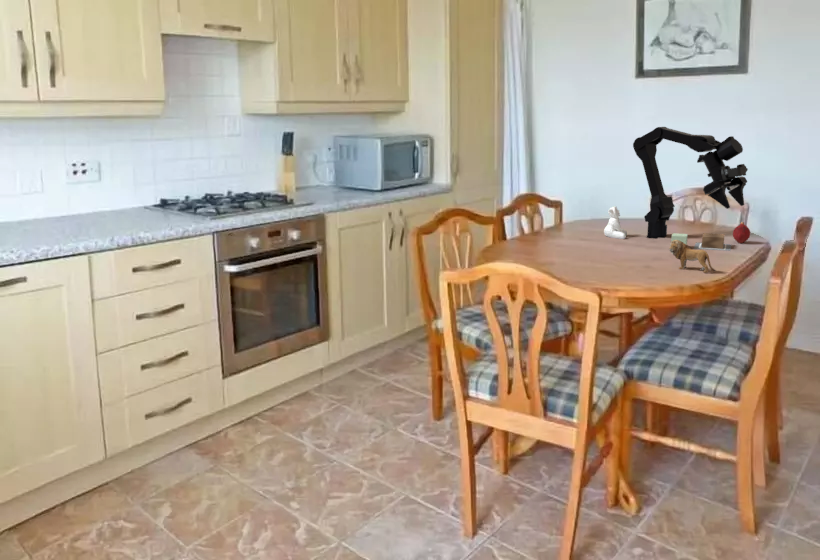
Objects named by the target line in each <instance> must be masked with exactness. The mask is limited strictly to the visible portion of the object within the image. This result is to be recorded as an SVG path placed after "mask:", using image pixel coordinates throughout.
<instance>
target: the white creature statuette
mask: <svg viewBox="0 0 820 560" xmlns="http://www.w3.org/2000/svg"><path fill="white" fill-rule="evenodd" d="M607 211H608V215H609V217H610V218H609V219H608V223H607V225H606V226H605V227H604V229H603V234H604V236H606V237H607V238H612V239H618V240H619V239H620V240H623V239H624V240H625V239H626V237H627V234H628V231H627V230H626V229H624V228H621V222H620V216H621V214H620V210H619V209H618V207H617V206H616V205H615V206H611V207H609V209H608V210H607Z"/></svg>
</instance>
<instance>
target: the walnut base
mask: <svg viewBox="0 0 820 560" xmlns="http://www.w3.org/2000/svg"><path fill="white" fill-rule="evenodd" d="M701 243H702V248H716V249H723V246H724V244H725V233H724V234H723V233H710V232H709V233H708V232H704V233H703V234H702V239H701Z"/></svg>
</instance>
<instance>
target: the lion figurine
mask: <svg viewBox="0 0 820 560" xmlns="http://www.w3.org/2000/svg"><path fill="white" fill-rule="evenodd" d="M668 250H669V253H671V255H673V256H674V257H675V259H677V260H680V261H679V262H680V266H679V267H678V269H679V270H684V268H686V267H687V266H686V265H687V261H690V262H694V261H695V262H696V261H698V263H699V265H701V266H702V267H700V268H699V270H700V271H702V272H703V274H707V273H708V272H709V269H710V270H711V271H712V272H717V270H716V269H715V268H713V267H712V264H711V261H710V256H709V254H708V253H707V251H706V250H705V249H693V248H691V247H690V246H689V245H688V244H687V245H686V244H684V243H683V242H681V241H679V240H673V241H671V240H670V244H669V248H668ZM706 262H707V263H708V265H707V263H706Z"/></svg>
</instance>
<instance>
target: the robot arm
mask: <svg viewBox="0 0 820 560" xmlns="http://www.w3.org/2000/svg"><path fill="white" fill-rule="evenodd" d="M663 140H665V141H666V140H667V141H670V142H672V143H673V142H674V143H678V144H681V145H685V146H687V147H688V148H689V149H691V150H693V151H694V152H697V153H705V154H699V155H698V158H697V163H700V164H701V163H703V164H704V165H705V167H706V169H707V171H708V173H707V177H708V178H711V179H712V181H711V182H710V183H708V184H706V185H704V186H703V192H704V195H707V196H708V197H710V198H712V199H713V200H715V201H716V202H717V203H719V204H720V205H721V206H722V207H724V208H725V209H728V210H729V209H730V208H731V205H730V203H729V200H728V197H727V195H726V190H727V191H728V193H729V195H730V196H731V197H732V198H733V199H734V201H736V202H737V203H738V204H739V205H740V206H741V207H743V206H744V205H745V200H744V188H745V186H746V185H747V184H748V180H747V179H746V177H745V176H747V171H748V170H749V169H748V168H747V166H746V165H745V163H741V164H737V165H736V167H731V166H729V165H726V164H725V162H728V161H730V160H731V159H733V158H734V157H736V156H738V155H740V154H742V153H743V150H744V149H743V148H744V147H743V146H742V143H740V142H739V141H738V139H736V138H735V137H734V136H732V135H731V136H728V137H727V138H726V139H725V140H723V141H721V142H720V140H716V138H715V136H713V135H710V134H709V135H708V134H693V133H692V134H691V133H689V132H688V133H687V132H684V131H680V130H676V129H673V128H669V127H666V126H657V127H656V128H654V129H652V130H651V131H649V132H648V133H646V134H644V135H642V136H639V137H637V138H635V140H634V141H633V143H632V147H633V150H634V152H635V155H636V156H637V157H638V158H639V160H641V162H642V166H643V170H644V173H645V177H646V181H647V185H648V189H649V192H650V197H651V198H650V202H649V209H650V210H649V211H648V212H647V213H646V214H645V215H644V220H645V221H644V222H646V223H647V235H646V238H649V239H650V238H651V239H658V238H659V239H661V238H662V239H664V238H665V237H667V235H668V234H667V233H668V224H667V222H668V221H669V220H670V218H671V216H672V215H673V213H674V212H675V209H674V208H675V206H676V205H675V204H674V201H673V197H672V196H667V194H666V193H665V189H664V186H663V182H662V179H661V175H660V172H659V167H658V164H657V160H656V154H657V148H658V147H657V146H658V145H659V144H660V143H662V142H663ZM724 161H725V162H724Z"/></svg>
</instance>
